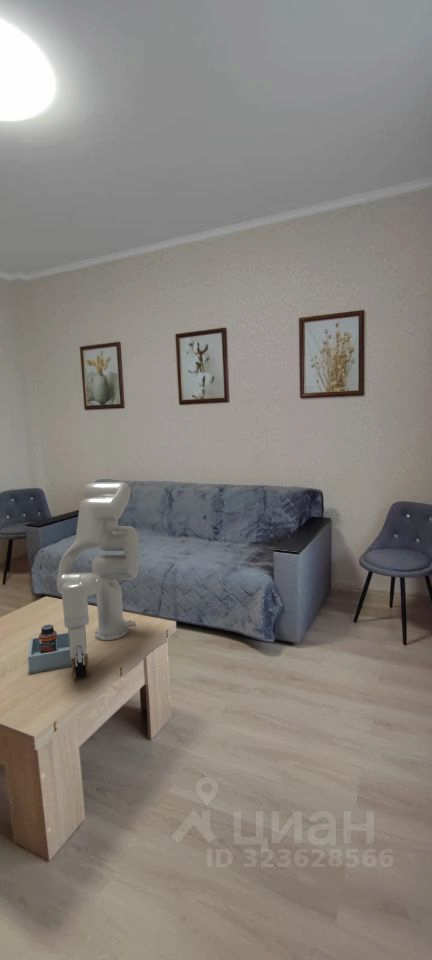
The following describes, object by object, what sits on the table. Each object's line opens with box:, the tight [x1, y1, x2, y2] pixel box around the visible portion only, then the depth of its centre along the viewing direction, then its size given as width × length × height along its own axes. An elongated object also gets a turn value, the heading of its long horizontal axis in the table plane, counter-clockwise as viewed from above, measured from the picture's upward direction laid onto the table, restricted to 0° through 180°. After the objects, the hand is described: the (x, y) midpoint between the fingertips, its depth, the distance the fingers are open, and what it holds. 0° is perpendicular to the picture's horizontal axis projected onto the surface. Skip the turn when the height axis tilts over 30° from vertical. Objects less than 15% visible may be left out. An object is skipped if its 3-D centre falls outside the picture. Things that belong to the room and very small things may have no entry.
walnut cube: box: [71, 653, 90, 679], centre depth 148 cm, size 5×5×5 cm
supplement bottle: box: [38, 624, 58, 654], centre depth 159 cm, size 6×6×11 cm
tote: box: [27, 631, 72, 674], centre depth 160 cm, size 18×15×6 cm
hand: (80, 671), depth 148 cm, fingers closed on walnut cube, 5 cm apart
